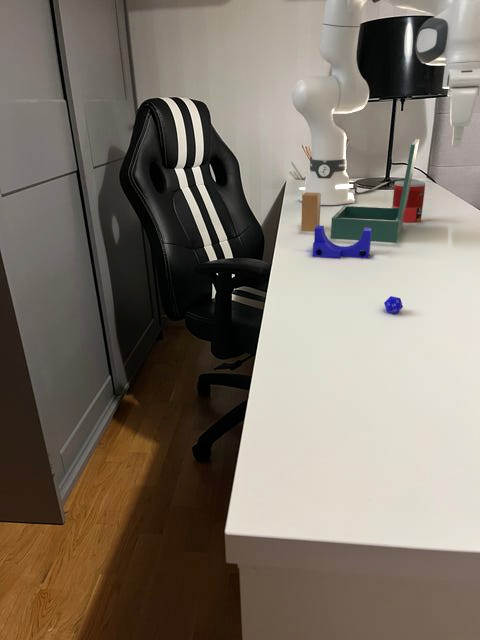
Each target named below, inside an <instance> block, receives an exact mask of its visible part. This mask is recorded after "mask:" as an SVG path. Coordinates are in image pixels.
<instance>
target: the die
mask: <svg viewBox="0 0 480 640" xmlns="http://www.w3.org/2000/svg"><path fill="white" fill-rule="evenodd" d="M383 305H384V307H385V310H386V313H391V314H395V315H397V314H398V313H399V312H400V311H401V310H402V309H403V308H404V306H403V301H402V299H401V297H397V296H392V295H390V296H389V297H388V298H387V299H386V300H385V301H384V302H383Z"/></svg>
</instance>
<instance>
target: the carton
mask: <svg viewBox="0 0 480 640" xmlns="http://www.w3.org/2000/svg"><path fill="white" fill-rule="evenodd" d="M301 197H302V201H301V223H300V224H301V225H300V226H301V229H300V231H301V232H315V228H316V226H321V205H320V204H321V193H309V192H306V193H303V194H302V195H301Z"/></svg>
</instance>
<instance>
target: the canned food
mask: <svg viewBox="0 0 480 640" xmlns="http://www.w3.org/2000/svg"><path fill="white" fill-rule="evenodd" d="M403 185H404V180H402V181H396V182H394V185H393V186H394V187H393V196H392V207H391V208H399V206H400V201H401V196H402V191H403ZM425 191H426V182H425V181H422V180H415V179H414V180H413V179H412V180H411V185H410V190H409V195H408V200H407V205H406V208H405V211H404V217H403V224H404V223H406V224H407V223H408V224H413V223H415V224H416V223H419V222H422V216H423V208H424V199H425V193H426V192H425Z"/></svg>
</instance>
